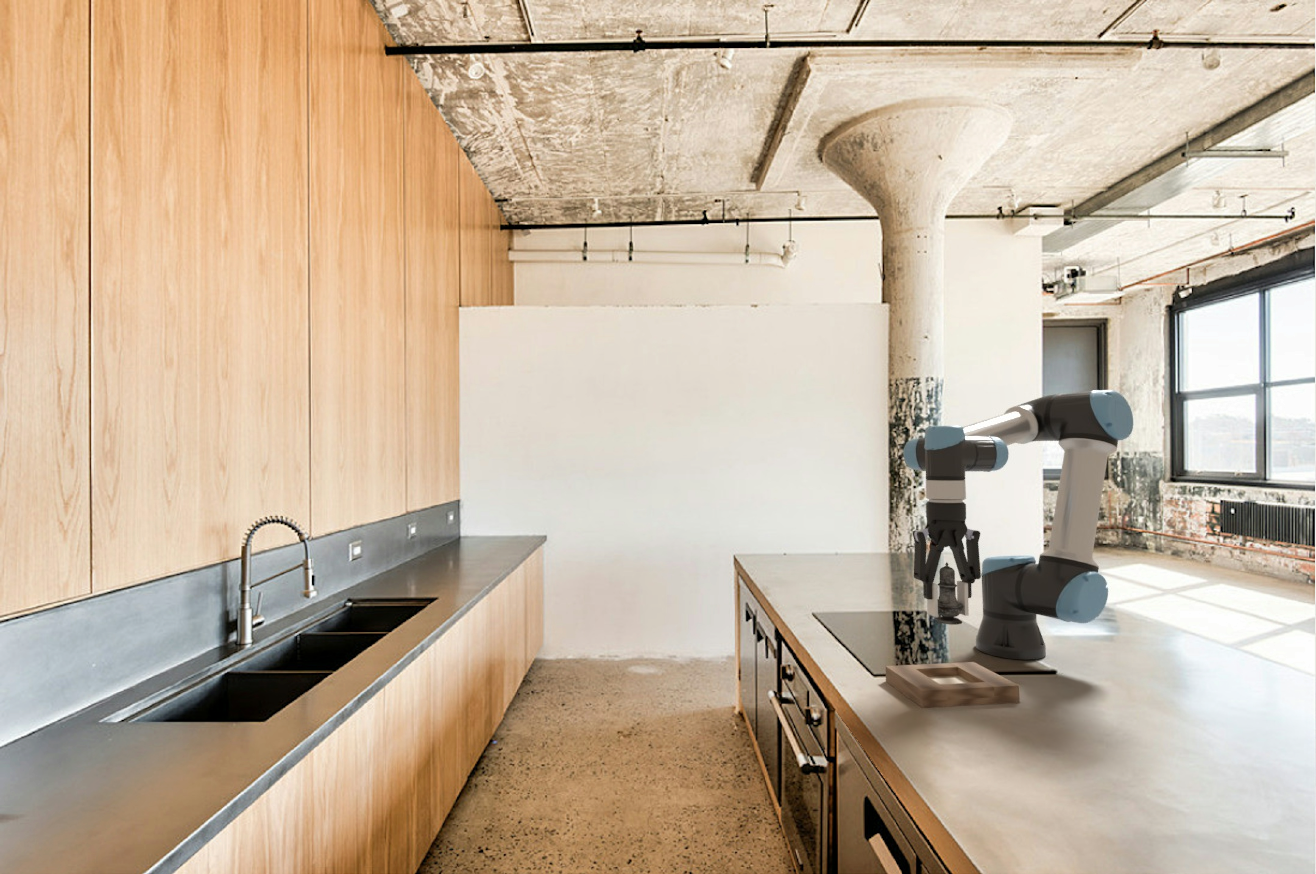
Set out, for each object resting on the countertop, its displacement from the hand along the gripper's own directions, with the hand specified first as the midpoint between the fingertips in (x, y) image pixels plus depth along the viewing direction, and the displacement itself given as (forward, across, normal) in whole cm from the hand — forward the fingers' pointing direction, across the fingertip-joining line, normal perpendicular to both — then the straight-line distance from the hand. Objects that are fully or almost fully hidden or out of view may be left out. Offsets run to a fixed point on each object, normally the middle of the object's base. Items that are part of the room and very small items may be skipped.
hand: (947, 614), depth 135 cm
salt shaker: (+2, 0, 0) cm, 2 cm away
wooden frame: (+15, 0, 0) cm, 15 cm away
